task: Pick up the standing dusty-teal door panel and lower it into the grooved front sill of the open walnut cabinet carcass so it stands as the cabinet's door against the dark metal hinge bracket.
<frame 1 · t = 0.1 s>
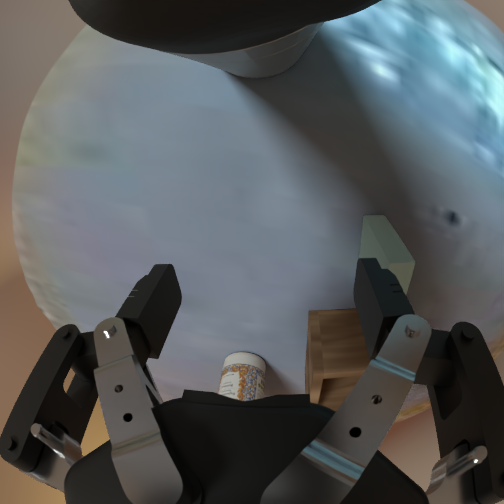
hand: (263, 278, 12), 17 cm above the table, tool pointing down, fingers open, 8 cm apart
bath foam: (245, 361, 44), on the table
cabinet: (345, 341, 39), on the table
door: (368, 257, 31), on the table
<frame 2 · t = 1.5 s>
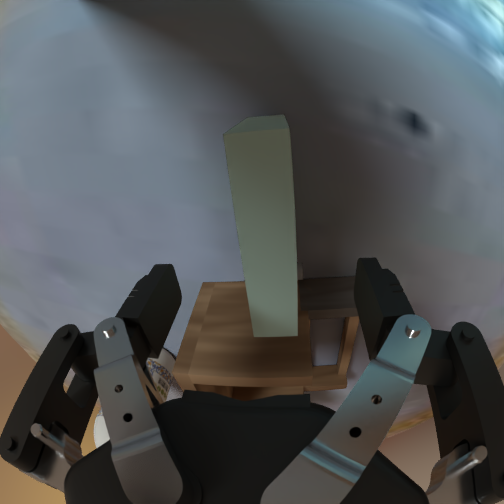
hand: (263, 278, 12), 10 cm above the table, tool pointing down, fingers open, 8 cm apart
bath foam: (152, 354, 33), on the table
cabinet: (273, 334, 28), on the table
door: (272, 189, 20), on the table
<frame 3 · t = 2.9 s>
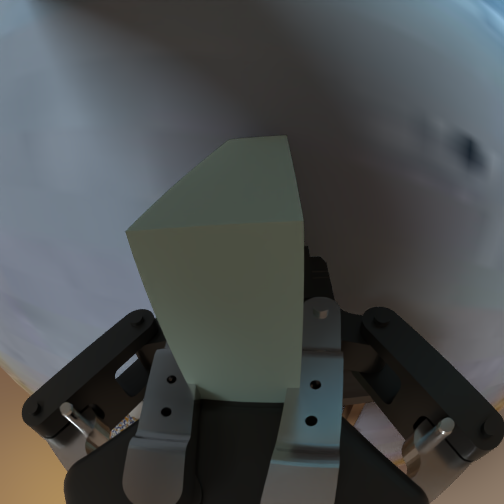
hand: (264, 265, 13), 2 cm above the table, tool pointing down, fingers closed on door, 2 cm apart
bath foam: (132, 403, 27), on the table
cabinet: (266, 400, 22), on the table
door: (267, 247, 14), on the table, touching gripper
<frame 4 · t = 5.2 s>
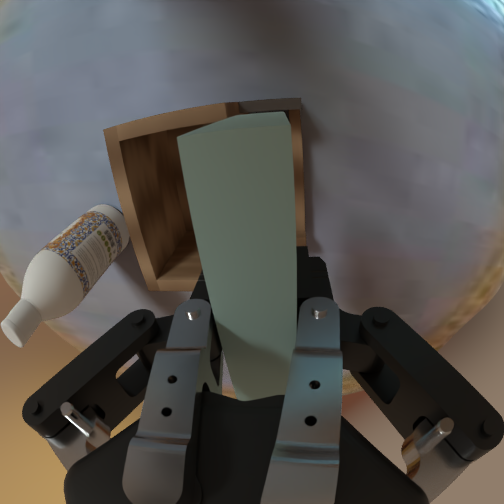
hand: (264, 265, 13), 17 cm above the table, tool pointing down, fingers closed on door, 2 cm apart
bath foam: (109, 226, 33), on the table
cabinet: (220, 173, 28), on the table
door: (268, 208, 16), point 13 cm above the table, touching gripper
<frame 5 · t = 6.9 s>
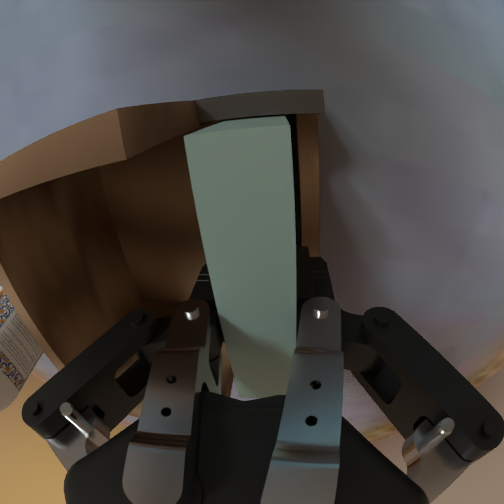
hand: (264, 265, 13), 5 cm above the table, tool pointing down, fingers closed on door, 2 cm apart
bath foam: (53, 280, 22), on the table
cabinet: (182, 222, 17), on the table
door: (268, 207, 16), resting in cabinet, touching gripper
when the fingers open (3 cm above the table, at t = 7.5 s): door stays where it is, resting in cabinet.
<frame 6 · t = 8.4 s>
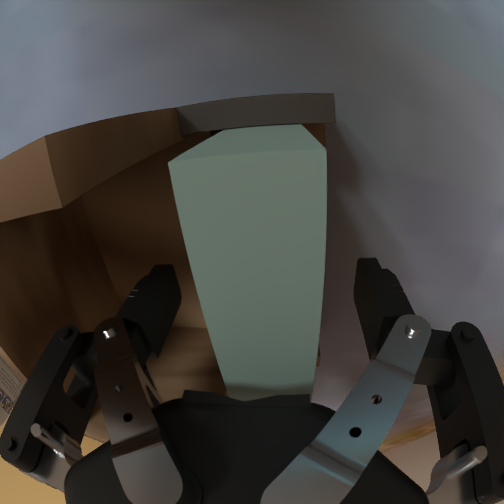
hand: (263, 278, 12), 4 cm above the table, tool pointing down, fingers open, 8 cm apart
bath foam: (42, 296, 20), on the table
cabinet: (171, 243, 16), on the table
door: (275, 225, 14), resting in cabinet
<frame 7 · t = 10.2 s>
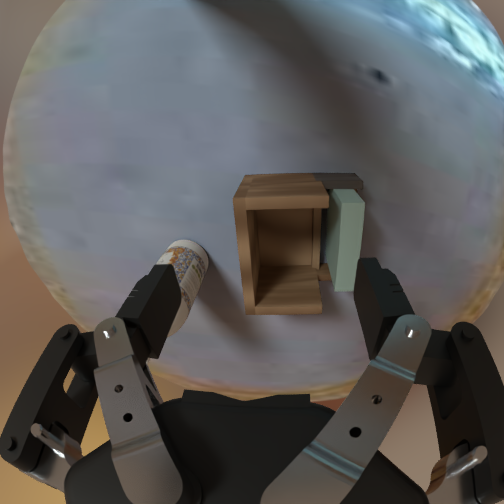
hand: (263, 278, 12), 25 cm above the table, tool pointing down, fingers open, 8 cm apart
bath foam: (188, 257, 42), on the table
cabinet: (293, 224, 38), on the table
door: (335, 219, 37), resting in cabinet
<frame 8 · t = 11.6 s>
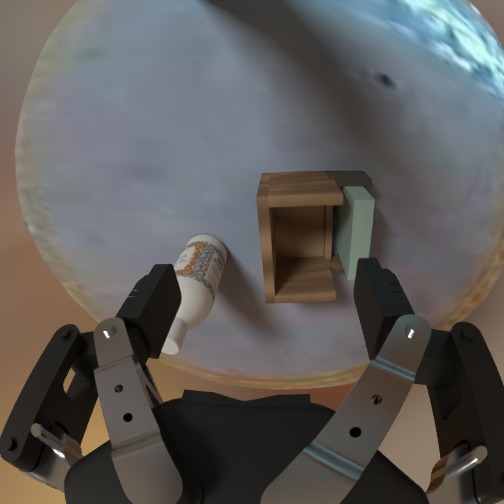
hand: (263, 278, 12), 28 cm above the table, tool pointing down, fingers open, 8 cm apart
bath foam: (207, 251, 45), on the table
cabinet: (306, 219, 40), on the table
door: (345, 213, 39), resting in cabinet
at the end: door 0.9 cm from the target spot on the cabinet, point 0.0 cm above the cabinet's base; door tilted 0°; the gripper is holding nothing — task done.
